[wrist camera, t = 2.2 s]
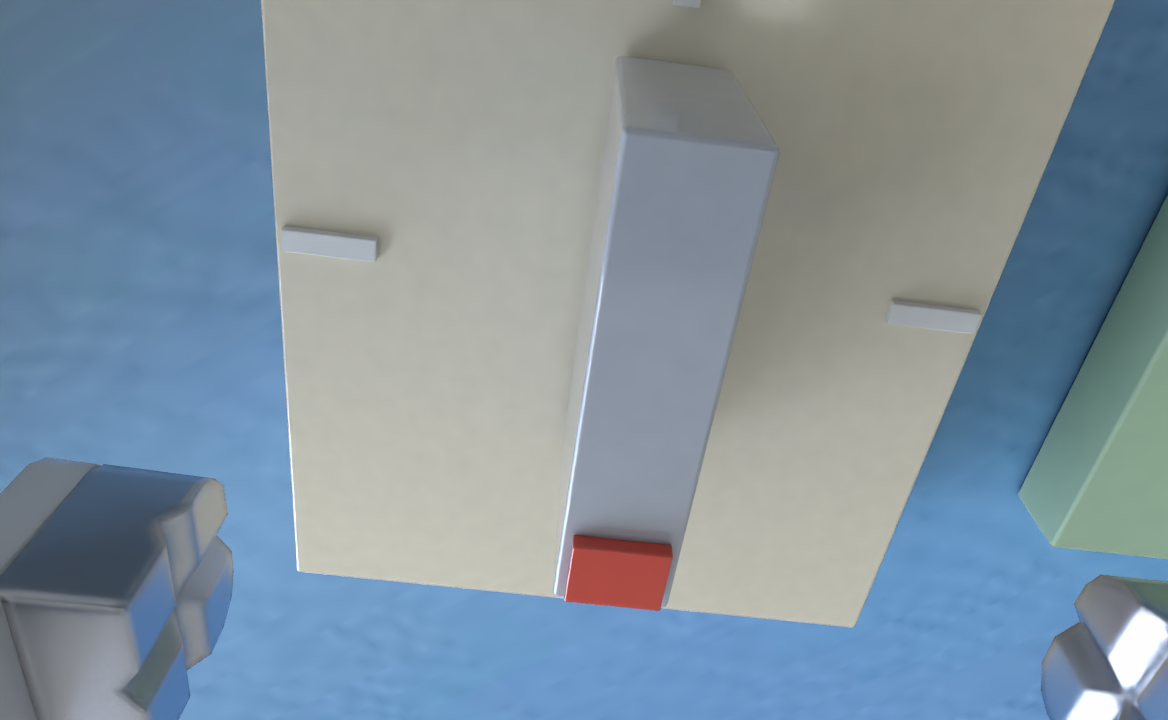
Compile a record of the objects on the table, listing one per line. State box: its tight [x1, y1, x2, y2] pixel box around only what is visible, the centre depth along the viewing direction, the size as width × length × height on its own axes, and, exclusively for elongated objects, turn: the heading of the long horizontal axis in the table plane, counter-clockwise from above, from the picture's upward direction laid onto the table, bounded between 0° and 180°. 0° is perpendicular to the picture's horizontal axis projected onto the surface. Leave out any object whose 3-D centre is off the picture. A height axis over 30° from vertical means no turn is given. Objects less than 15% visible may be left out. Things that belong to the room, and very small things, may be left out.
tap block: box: [261, 0, 1115, 627], centre depth 14 cm, size 14×11×3 cm
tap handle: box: [553, 56, 780, 611], centre depth 11 cm, size 6×2×4 cm, turn 173°
